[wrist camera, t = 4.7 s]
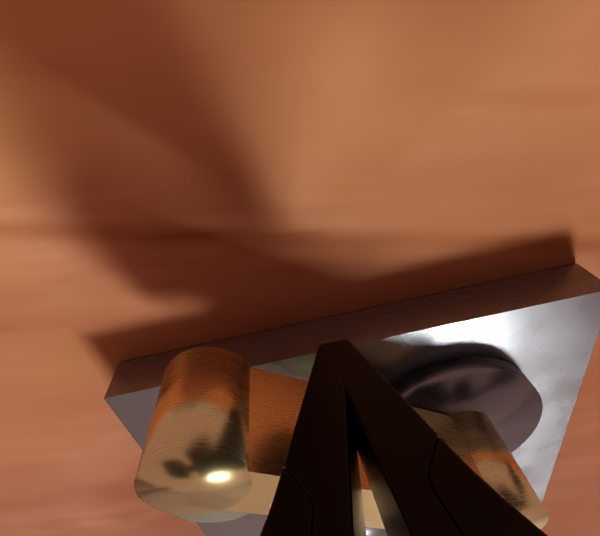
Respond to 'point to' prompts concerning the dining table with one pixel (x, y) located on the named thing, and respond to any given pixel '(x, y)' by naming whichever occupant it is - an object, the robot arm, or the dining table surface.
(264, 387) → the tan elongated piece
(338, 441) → the robot arm
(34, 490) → the dining table surface
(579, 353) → the plate
